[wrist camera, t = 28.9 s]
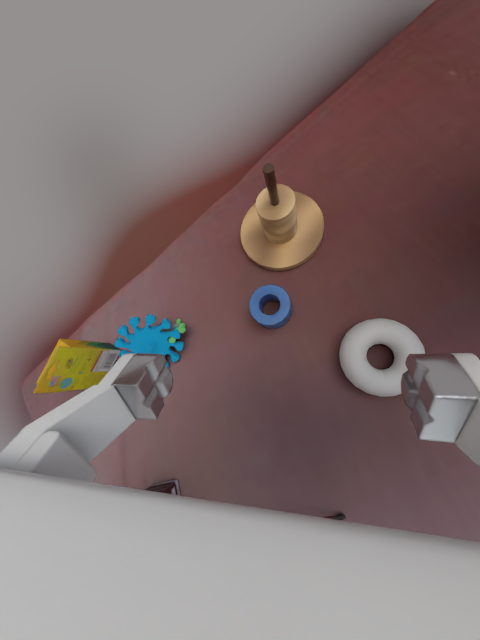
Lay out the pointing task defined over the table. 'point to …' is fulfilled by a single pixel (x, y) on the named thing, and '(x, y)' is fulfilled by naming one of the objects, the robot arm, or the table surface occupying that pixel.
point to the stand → (281, 226)
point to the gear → (152, 338)
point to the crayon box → (76, 366)
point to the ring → (262, 298)
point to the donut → (371, 334)
